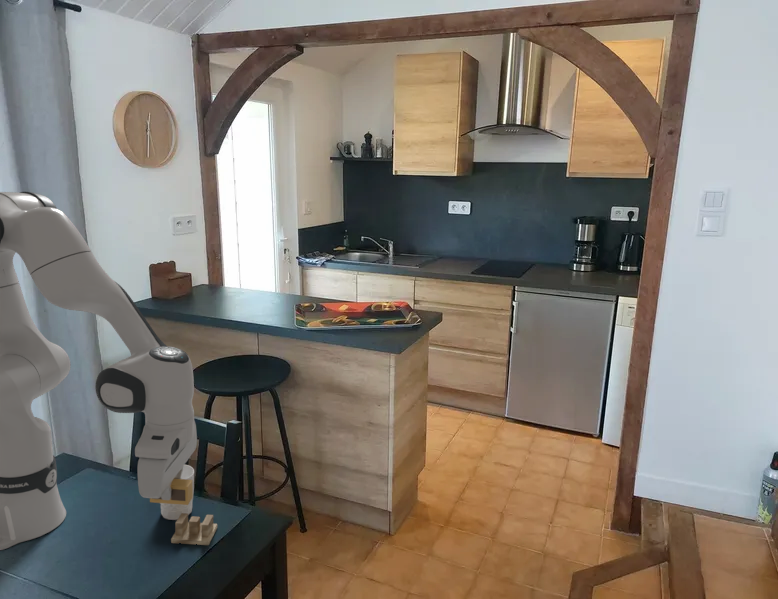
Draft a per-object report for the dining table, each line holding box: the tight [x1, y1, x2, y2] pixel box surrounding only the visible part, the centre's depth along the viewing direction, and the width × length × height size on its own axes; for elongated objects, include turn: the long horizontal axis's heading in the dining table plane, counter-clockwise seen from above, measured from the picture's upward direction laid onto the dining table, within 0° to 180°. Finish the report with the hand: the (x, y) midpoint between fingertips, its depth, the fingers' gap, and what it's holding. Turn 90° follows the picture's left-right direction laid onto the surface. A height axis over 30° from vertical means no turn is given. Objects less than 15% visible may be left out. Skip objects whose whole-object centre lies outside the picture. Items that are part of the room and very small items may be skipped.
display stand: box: [170, 513, 218, 546], centre depth 119 cm, size 8×6×4 cm
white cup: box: [159, 463, 195, 521], centre depth 127 cm, size 8×8×10 cm
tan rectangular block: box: [149, 479, 194, 505], centre depth 110 cm, size 8×3×4 cm, turn 90°
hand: (171, 492), depth 110 cm, fingers closed on tan rectangular block, 3 cm apart
